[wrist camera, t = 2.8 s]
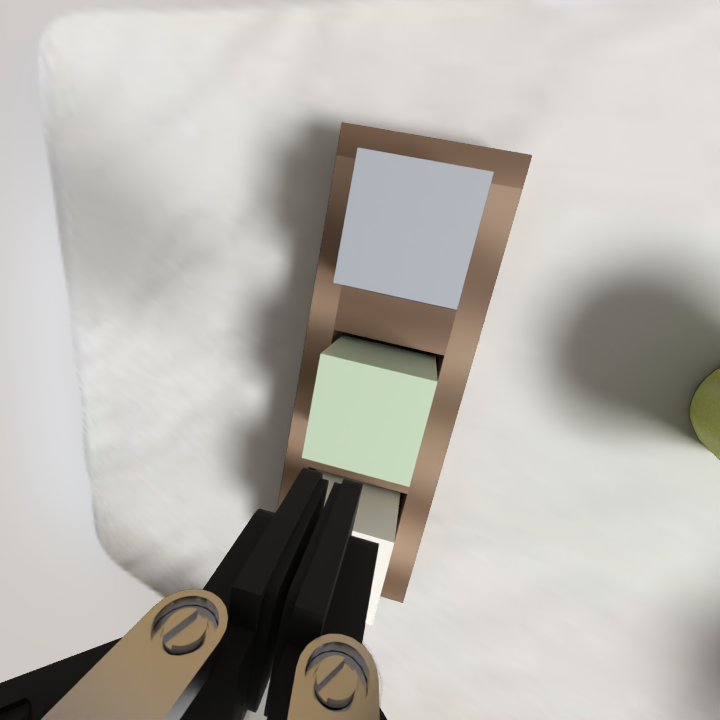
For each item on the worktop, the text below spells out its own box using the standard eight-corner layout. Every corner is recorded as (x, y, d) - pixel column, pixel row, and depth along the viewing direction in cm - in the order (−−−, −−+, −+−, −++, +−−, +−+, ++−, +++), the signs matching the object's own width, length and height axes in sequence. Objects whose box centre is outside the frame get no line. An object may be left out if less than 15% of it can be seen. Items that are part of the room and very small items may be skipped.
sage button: (412, 442, 24) (409, 486, 19) (326, 419, 24) (301, 457, 20) (435, 356, 22) (437, 381, 18) (342, 335, 23) (320, 353, 18)
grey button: (450, 299, 22) (456, 309, 17) (353, 278, 22) (333, 282, 17) (477, 194, 20) (493, 171, 15) (373, 174, 21) (357, 147, 16)
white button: (382, 559, 26) (372, 625, 21) (303, 536, 27) (276, 595, 22) (400, 488, 25) (394, 542, 20) (317, 465, 25) (291, 513, 20)
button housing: (405, 568, 28) (402, 602, 25) (283, 532, 29) (268, 561, 26) (518, 169, 21) (532, 155, 18) (352, 140, 22) (341, 122, 19)
